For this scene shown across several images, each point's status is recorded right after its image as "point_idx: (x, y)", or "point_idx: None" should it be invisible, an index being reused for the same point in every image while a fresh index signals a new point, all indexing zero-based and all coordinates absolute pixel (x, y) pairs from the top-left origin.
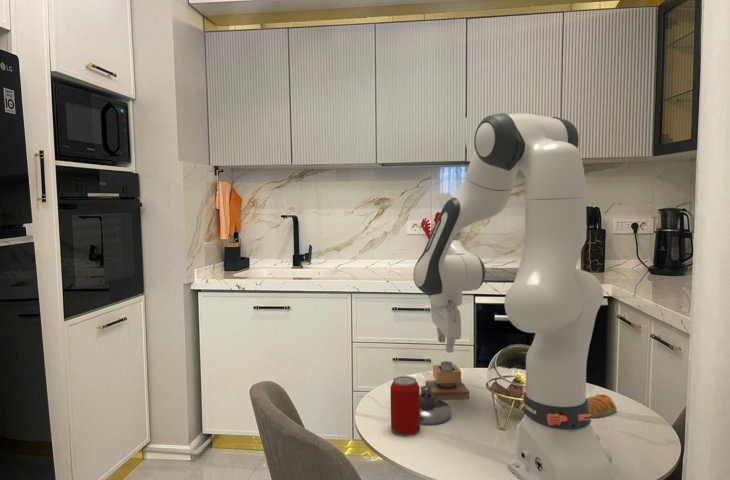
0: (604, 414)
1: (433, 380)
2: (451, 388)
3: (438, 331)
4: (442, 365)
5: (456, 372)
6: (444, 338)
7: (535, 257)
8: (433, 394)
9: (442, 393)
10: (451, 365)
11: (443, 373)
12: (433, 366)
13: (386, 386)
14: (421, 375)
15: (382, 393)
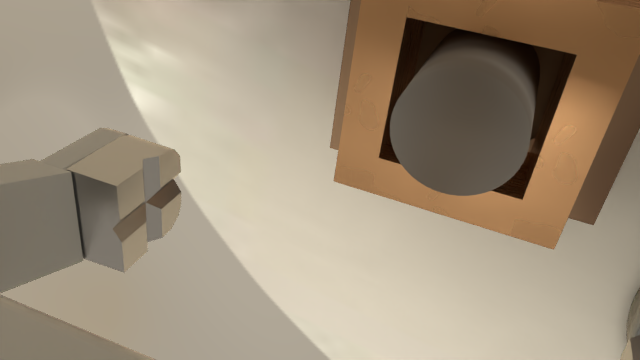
0: None
1: (341, 96)
2: None
3: (7, 283)
4: (478, 186)
5: (633, 67)
6: (140, 180)
7: None
8: (595, 215)
9: (622, 157)
10: (523, 100)
11: (574, 196)
12: (358, 186)
13: (282, 298)
14: (142, 56)
15: (369, 355)
